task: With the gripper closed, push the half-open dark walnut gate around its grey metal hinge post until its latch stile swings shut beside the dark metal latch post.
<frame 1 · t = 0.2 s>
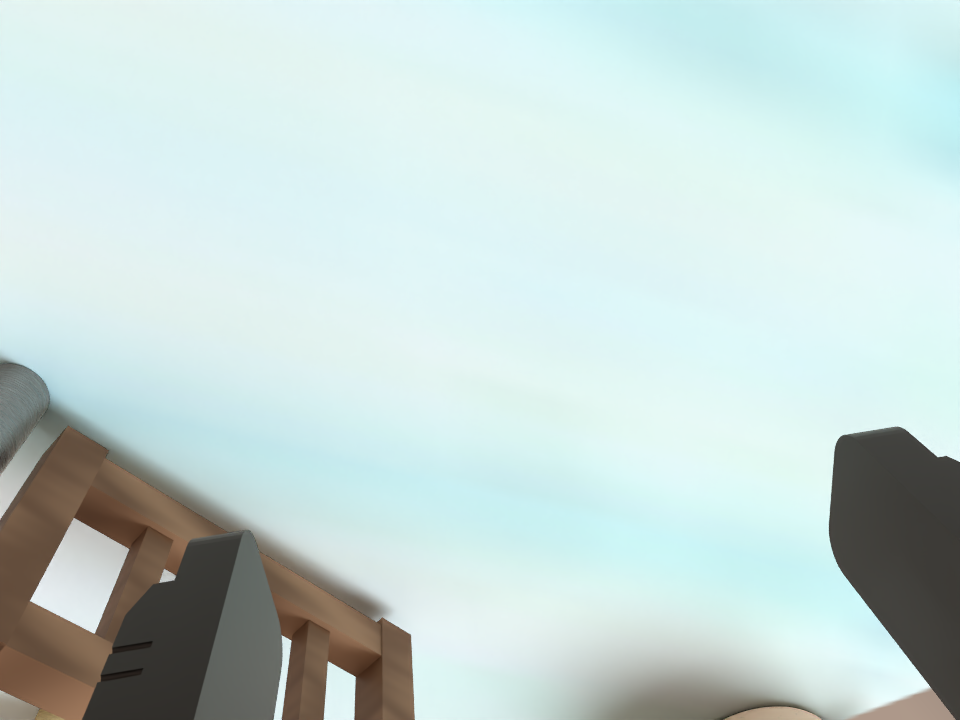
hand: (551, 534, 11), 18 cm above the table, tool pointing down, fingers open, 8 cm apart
hinge post: (13, 393, 29), on the table
walnut gate: (224, 641, 28), point 6 cm above the table, hinge at 45.0°
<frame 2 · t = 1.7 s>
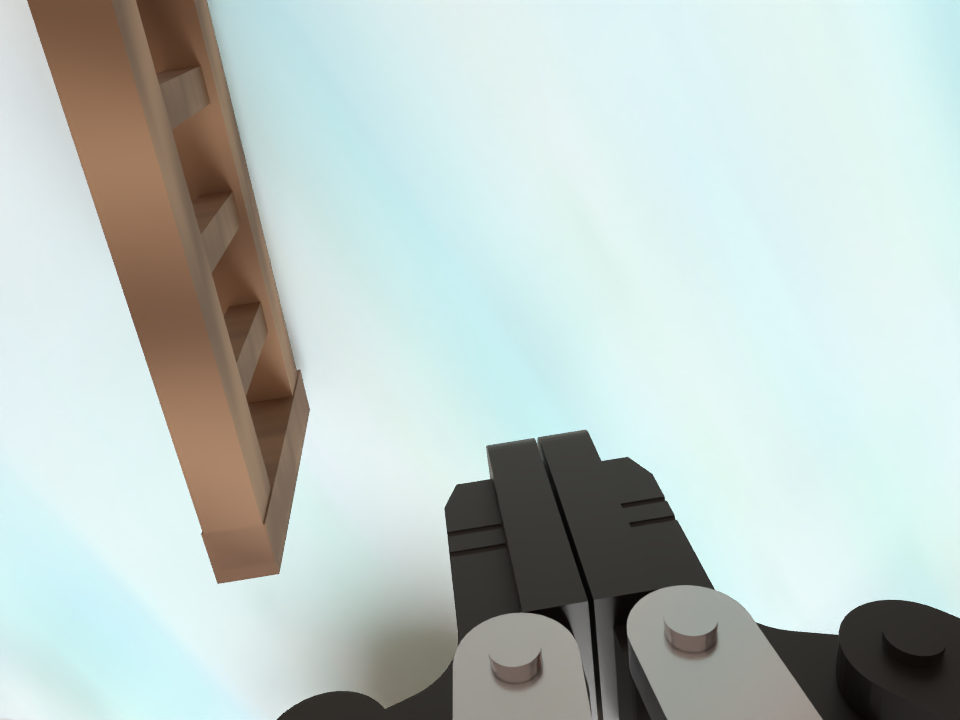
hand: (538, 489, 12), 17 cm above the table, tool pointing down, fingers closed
walnut gate: (202, 234, 22), point 5 cm above the table, hinge at 45.0°
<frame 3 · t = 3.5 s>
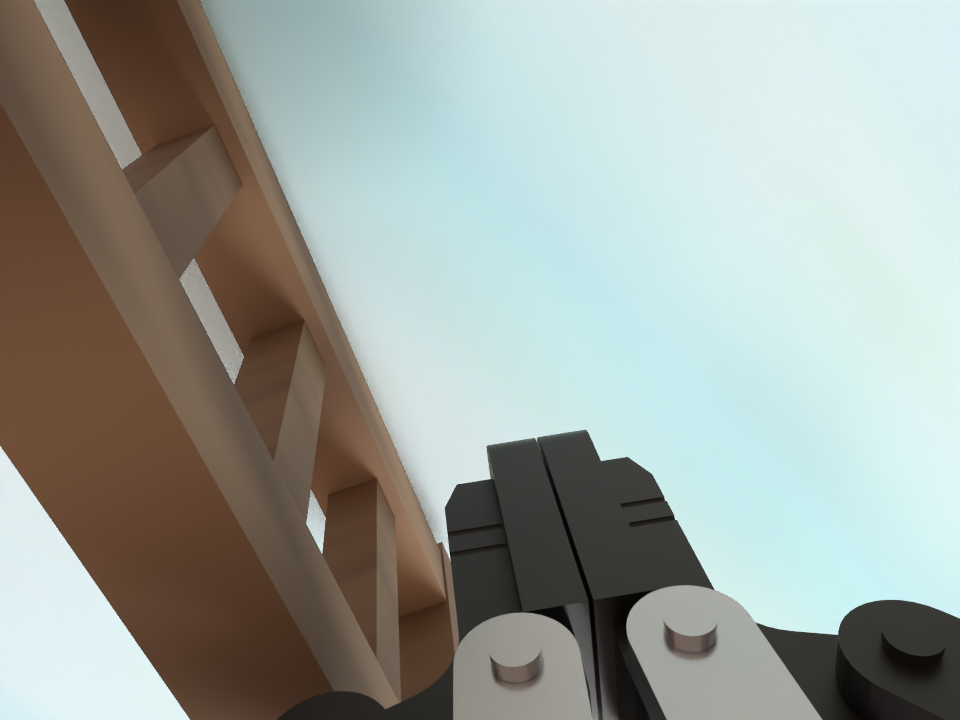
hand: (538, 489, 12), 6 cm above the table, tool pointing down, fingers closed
walnut gate: (273, 421, 12), point 6 cm above the table, hinge at 44.1°, touching gripper
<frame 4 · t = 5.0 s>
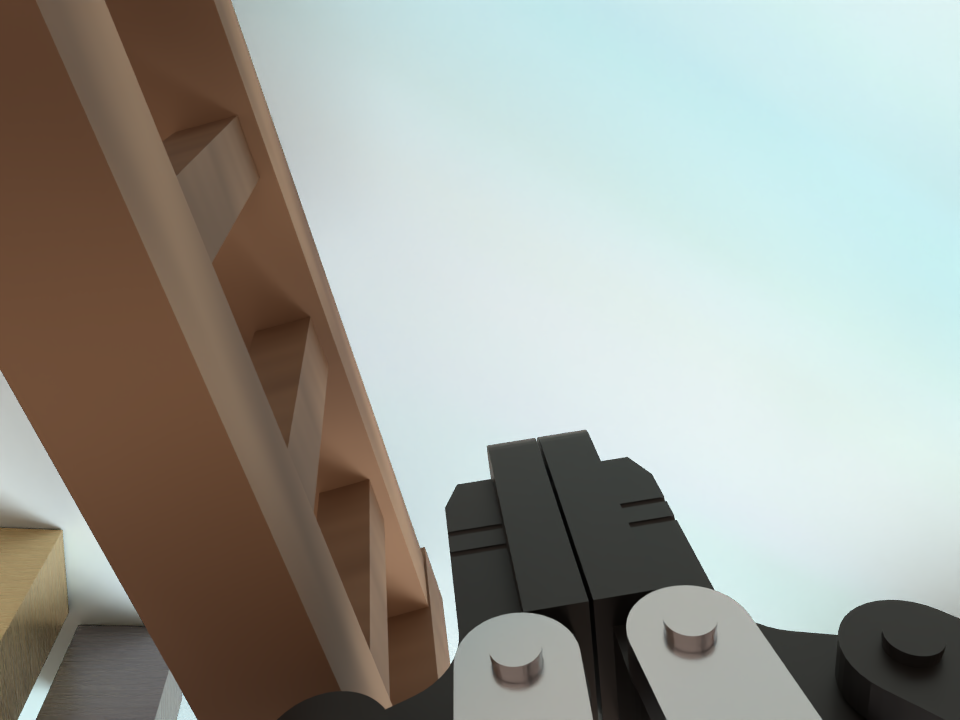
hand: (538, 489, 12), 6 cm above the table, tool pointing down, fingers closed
latch post: (131, 663, 21), on the table
walnut gate: (278, 416, 12), point 5 cm above the table, hinge at 21.7°, touching gripper
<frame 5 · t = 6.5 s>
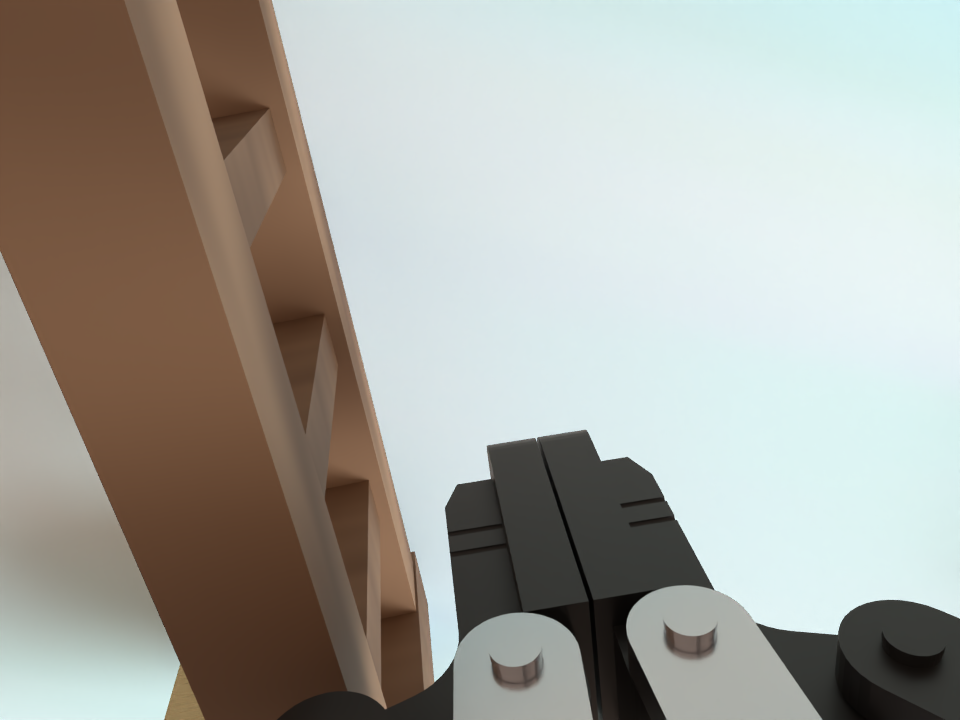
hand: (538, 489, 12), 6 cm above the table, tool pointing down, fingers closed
latch post: (374, 637, 21), on the table
walnut gate: (289, 411, 12), point 6 cm above the table, hinge at 2.5°, touching gripper
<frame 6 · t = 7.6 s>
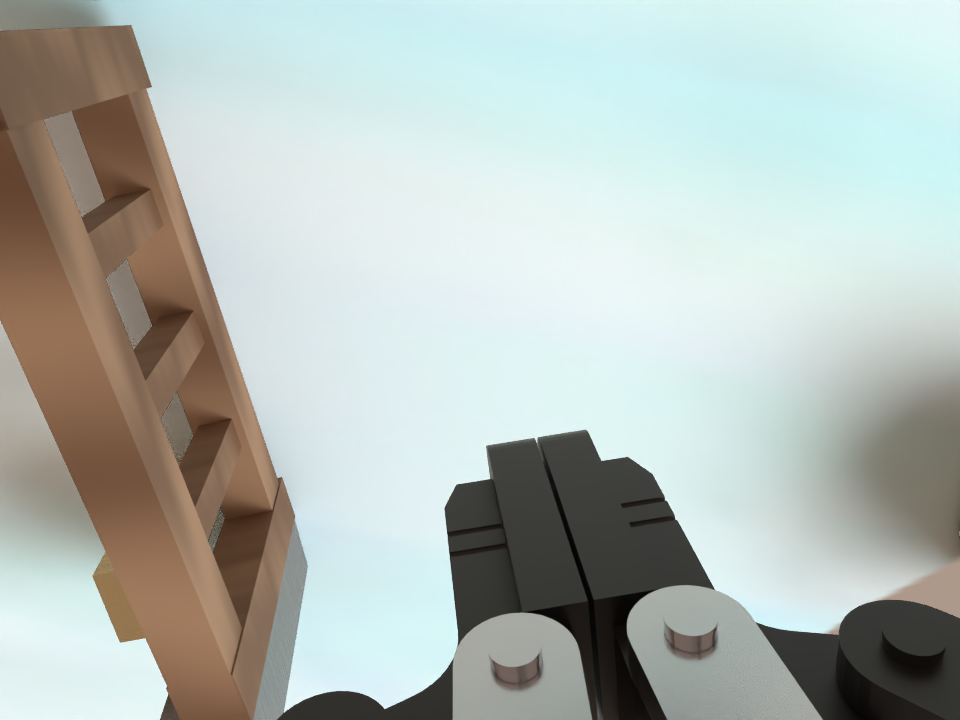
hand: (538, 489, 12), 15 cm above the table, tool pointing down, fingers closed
latch post: (267, 545, 30), on the table
walnut gate: (158, 365, 21), point 5 cm above the table, hinge at 2.3°
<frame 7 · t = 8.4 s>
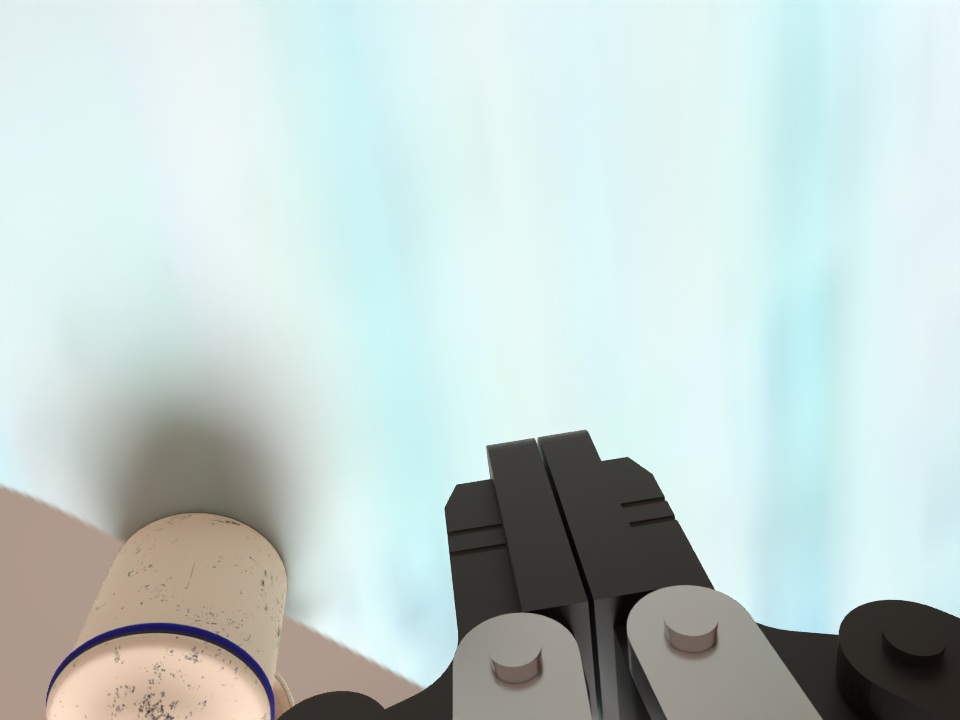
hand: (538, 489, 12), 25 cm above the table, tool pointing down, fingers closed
teacup with lid: (223, 594, 42), on the table
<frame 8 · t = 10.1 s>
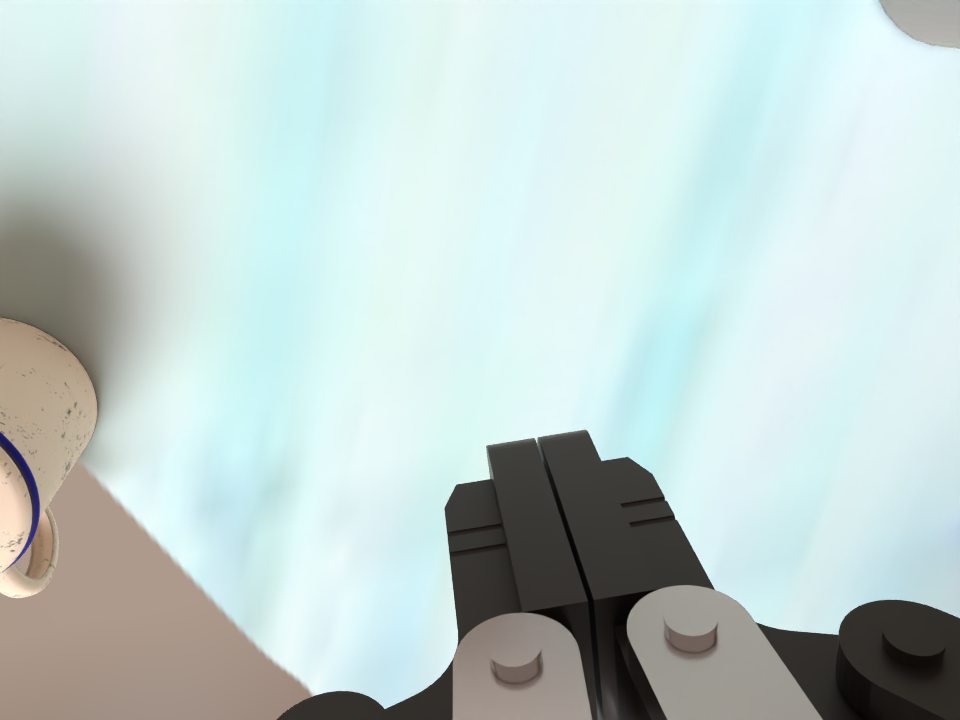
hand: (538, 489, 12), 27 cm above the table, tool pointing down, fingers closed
teacup with lid: (22, 419, 40), on the table
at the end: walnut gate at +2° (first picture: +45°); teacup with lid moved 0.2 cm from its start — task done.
